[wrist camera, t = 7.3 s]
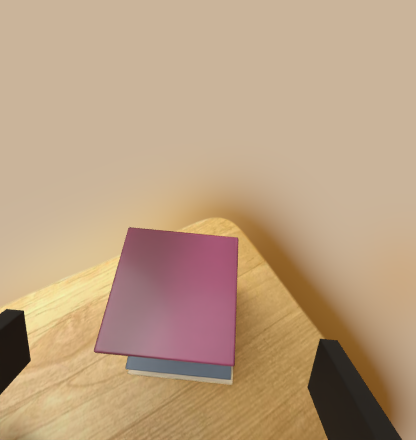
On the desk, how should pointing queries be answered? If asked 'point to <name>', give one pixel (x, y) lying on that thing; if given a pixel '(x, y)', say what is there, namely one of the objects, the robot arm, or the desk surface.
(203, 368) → the slate block
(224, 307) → the mulberry block
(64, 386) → the desk surface
